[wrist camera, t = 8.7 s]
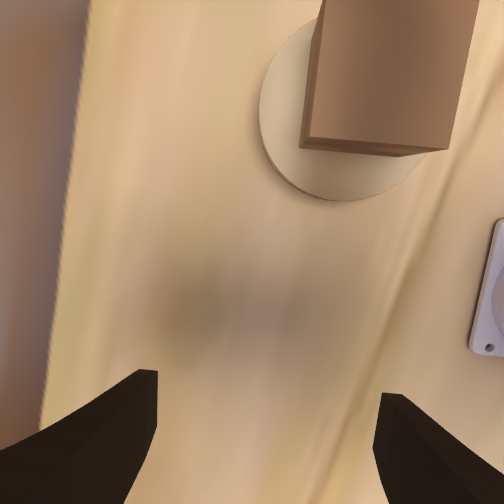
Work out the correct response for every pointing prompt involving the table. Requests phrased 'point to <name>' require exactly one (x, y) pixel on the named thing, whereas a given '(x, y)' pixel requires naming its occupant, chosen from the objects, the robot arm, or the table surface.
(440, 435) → the robot arm
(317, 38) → the walnut cube
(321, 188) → the birch round
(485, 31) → the table surface
